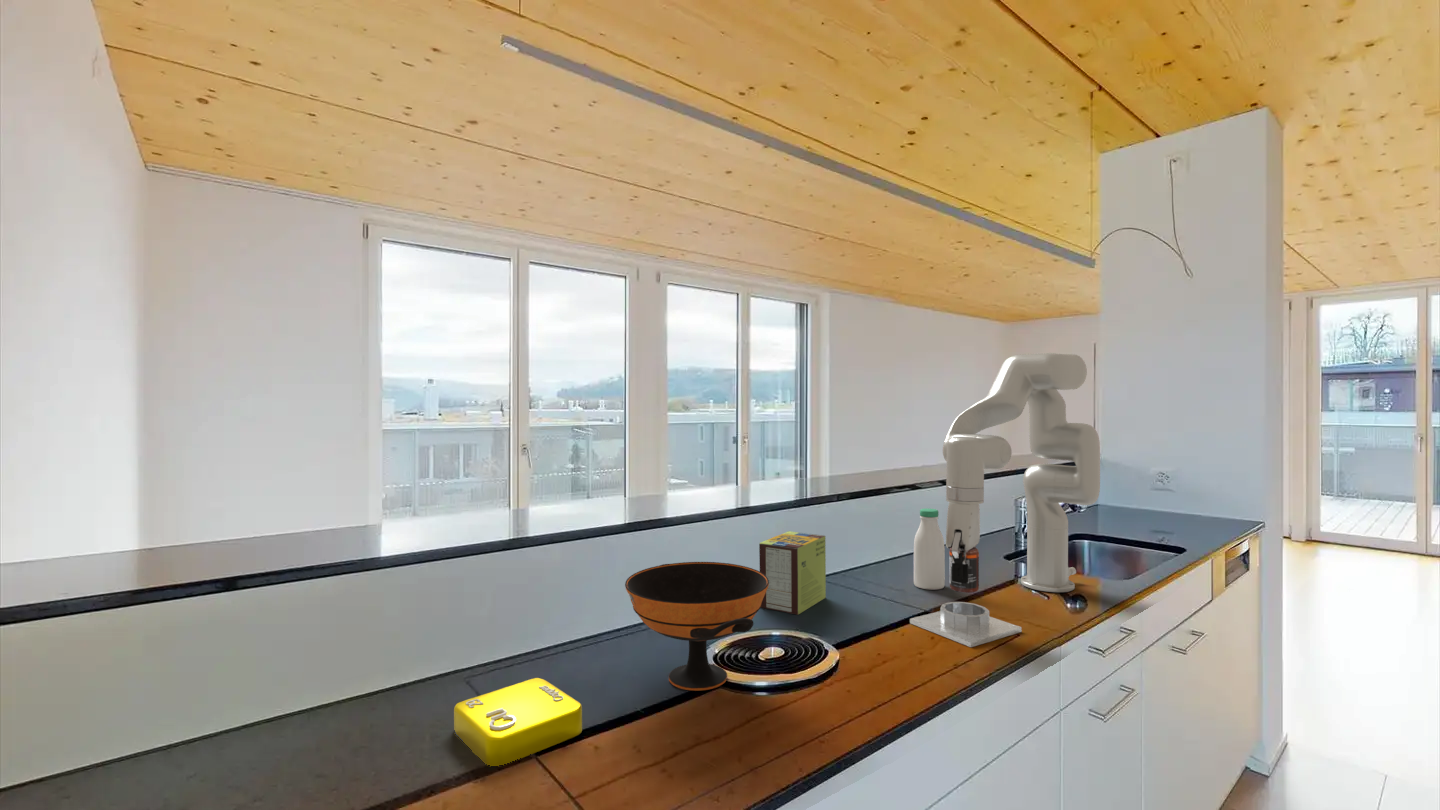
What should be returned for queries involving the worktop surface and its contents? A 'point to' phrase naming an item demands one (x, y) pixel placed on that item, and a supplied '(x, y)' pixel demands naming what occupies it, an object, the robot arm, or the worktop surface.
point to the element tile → (517, 721)
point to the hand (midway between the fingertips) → (964, 577)
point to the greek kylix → (697, 610)
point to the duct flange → (965, 624)
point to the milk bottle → (929, 552)
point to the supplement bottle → (972, 572)
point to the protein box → (793, 571)
